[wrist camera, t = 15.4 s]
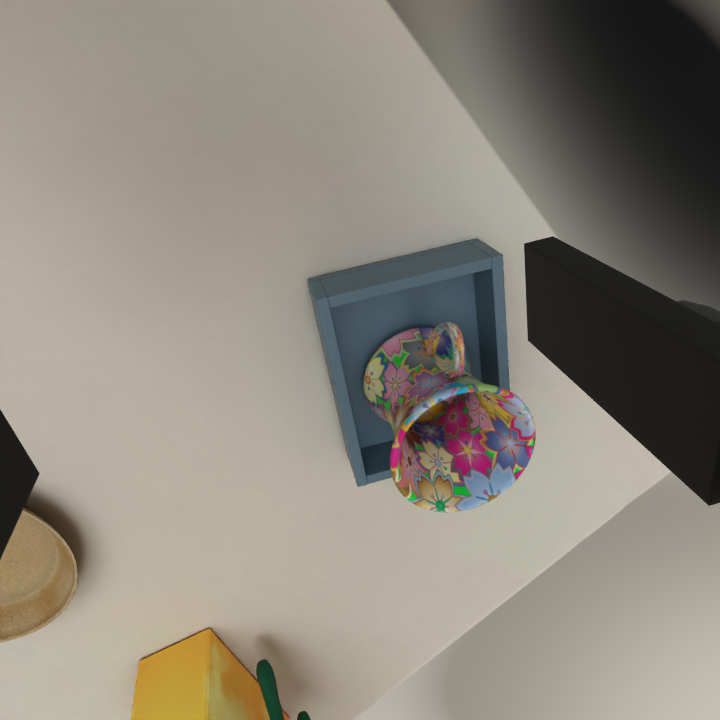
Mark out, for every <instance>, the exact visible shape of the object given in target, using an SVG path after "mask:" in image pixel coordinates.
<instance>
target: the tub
mask: <svg viewBox="0 0 720 720" xmlns="http://www.w3.org/2000/svg"><path fill="white" fill-rule="evenodd" d="M307 281H308V286H309V290H310V294H311V299H312V303H313V307H314V312H315V316H316V321H317V325H318V329H319V334H320V338H321V342H322V347H323V351H324V355H325V360H326V364H327V368H328V373H329V377H330V381H331V386H332V390H333V394H334V399H335V403H336V407H337V412H338V416H339V420H340V425H341V429H342V433H343V438H344V442H345V446H346V451H347V455H348V458H349V461H350V464H351V467H352V471H353V474H354V477H355V480H356V483H357V486H358V487H360V486H363V485H367V484H370V483H373V482H377V481H380V480H384V479H387V478H391V477H392V473H391V467H390V456H391V449H392V445H393V442H394V432H393V428H392V426H391V424H390V423H387V422H385V421H384V420H382V419H381V418H379V417H378V416H377V415H376V414H375V413H374V412H373V411H372V410H371V408H370V407H369V405H368V403H367V401H366V398H365V394H364V375H365V371H366V368H367V365H368V363H369V361H370V359H371V357H372V356H373V354H374V353H375V352H376V350H377V349H378V348H379V347H380V346H381V345H382V344H383V343H384V342H386V341H387V340H388V339H390V338H391V337H393V336H394V335H396V334H398V333H400V332H403V331H405V330H409V329H412V328H418V327H432V328H435V327H436V326H437V325H438V324H440V323H443V322H453V323H455V324H456V325H457V326H458V327H459V329H460V331H461V333H462V336H463V340H464V345H465V348H466V350H467V352H468V354H469V357H470V361H471V367H472V375H473V376H474V377H475V378H476V379H477V380H479V381H480V382H482V383H484V384H489V385H494V386H498V387H501V388H503V389H506V390H508V391H510V388H509V369H508V349H507V330H506V310H505V291H504V271H503V255H502V254H501V253H499V252H498V251H496V250H495V249H493V248H491V247H490V246H488V245H487V244H485V243H484V242H482V241H480V240H479V239H473V240H468V241H464V242H460V243H456V244H452V245H447V246H443V247H439V248H435V249H431V250H426V251H422V252H418V253H414V254H410V255H405V256H401V257H397V258H393V259H389V260H384V261H380V262H376V263H372V264H368V265H363V266H359V267H355V268H351V269H347V270H342V271H338V272H334V273H330V274H326V275H321V276H317V277H313V278H309V279H307ZM445 331H446V332H447V330H445Z"/></svg>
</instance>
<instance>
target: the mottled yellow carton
mask: <svg viewBox="0 0 720 720" xmlns="http://www.w3.org/2000/svg"><path fill="white" fill-rule="evenodd" d="M257 678H258V682H259V683H258V682H257V681H256V680H255V679H254V678H253V677H252V676H251V675H250V673H249V672H248V671H247V670H246V669H245V668H244V667H243V666H242V664H241V663H240V662H239V661H238V660H237V659H236V658H235V657H234V655H233V654H232V653H231V652H230V651H229V650H228V649H227V648H226V646H225V645H224V644H223V643H222V642H221V641H220V640H219V639H218V637H217V636H216V635H215V634H214V633H213V632H212V631H211V630H210V629H207V630H205V631H202V632H200V633H198V634H196V635H194V636H192V637H190V638H188V639H185V640H183V641H181V642H179V643H177V644H175V645H173V646H170V647H168V648H166V649H164V650H162V651H160V652H158V653H155V654H153V655H151V656H149V657H147V658H145V659H143V660H141V661H140V662H139V667H138V673H137V680H136V687H135V694H134V700H133V707H132V714H131V720H290V718H289V717H288V716H287V715H286V714H285V713H284V712H283V710H282V708H281V705H280V701H279V697H278V691H277V685H276V680H275V676H274V672H273V669H272V667H271V665H270V664H269V662H268V661H267V660H265V659H263V660H261V661H259V662H258V665H257ZM297 720H311V719H310V717H309V715H308V714H307V712H305V711H302V712H300V713H299V714H298V718H297Z"/></svg>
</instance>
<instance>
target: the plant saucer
mask: <svg viewBox="0 0 720 720" xmlns="http://www.w3.org/2000/svg"><path fill="white" fill-rule="evenodd" d="M77 580H78V570H77V564H76V560H75V558H74V555H73V553H72V551H71V549H70V548H69V546H68V545H67V543H66V542H65V540H64V539H63V538H62V537H61V535H60V534H59V533H58V532H57V531H56V530H55V529H54V528H53V527H52V526H51V525H50V524H48V523H47V522H46V521H45V520H43V519H42V518H40V517H39V516H38V515H36V514H34V513H33V512H31V511H29V510H27V509H25V508H24V509H23V511H22V513H21V515H20V517H19V520H18V522H17V524H16V526H15V528H14V531H13V533H12V535H11V537H10V539H9V542H8V544H7V546H6V548H5V550H4V553H3V555H2V557H1V559H0V642H5V641H9V640H12V639H16V638H19V637H22V636H25V635H27V634H30V633H32V632H34V631H37V630H39V629H40V628H42V627H44V626H46V625H47V624H48V623H50V622H51V621H52V620H54V619H55V618H56V617H57V616H59V615H60V614H61V613H62V612H63V611H64V609H65V608H66V607H67V606H68V604H69V602H70V601H71V599H72V597H73V595H74V593H75V590H76V586H77Z"/></svg>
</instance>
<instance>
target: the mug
mask: <svg viewBox="0 0 720 720" xmlns="http://www.w3.org/2000/svg"><path fill="white" fill-rule="evenodd" d="M445 330H447V332H446V331H445ZM364 394H365V398H366V401H367V403H368V405H369V407H370V408H371V410H372V411H373V412H374V413H375V414H376V415H377V416H378V417H379V418H381V419H382V420H384V421H385V422H387V423H390V424H391V426H392V428H393V432H394V442H393V445H392V449H391V456H390V467H391V473H392V477H393V480H394V482H395V484H396V486H397V488H398V489H399V491H400V492H401V493H402V494H403V496H404V497H405V498H407V499H408V500H409V501H410V502H412V503H413V504H415V505H417V506H419V507H421V508H424V509H427V510H430V511H436V512H458V511H464V510H468V509H472V508H475V507H478V506H480V505H483V504H485V503H487V502H489V501H491V500H492V499H494V498H496V497H497V496H499V495H500V494H502V493H503V492H504V491H505V490H507V489H508V488H509V487H510V486H511V485H512V484H513V483H514V482H515V481H516V480H517V479H518V477H519V476H520V475H521V474H522V472H523V471H524V469H525V468H526V466H527V464H528V462H529V460H530V458H531V455H532V453H533V449H534V445H535V425H534V421H533V417H532V415H531V413H530V411H529V409H528V408H527V406H526V405H525V404H524V402H523V401H522V400H521V399H520V398H519V397H517V396H516V395H515V394H513V393H512V392H510V391H508V390H506V389H503V388H501V387H498V386H494V385H489V384H484V383H482V382H480V381H479V380H477V379H476V378H475V377H474V376H473V375H472V367H471V361H470V357H469V354H468V352H467V350H466V348H465V345H464V340H463V336H462V333H461V331H460V329H459V327H458V326H457V325H456V324H455V323H453V322H443V323H440V324H438V325H437V326H436V327H435V328H432V327H418V328H412V329H409V330H405V331H403V332H400V333H398V334H396V335H394V336H393V337H391V338H390V339H388V340H387V341H386V342H384V343H383V344H382V345H381V346H380V347H379V348H378V349H377V350H376V352H375V353H374V354H373V356H372V357H371V359H370V361H369V363H368V365H367V368H366V371H365V375H364Z"/></svg>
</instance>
